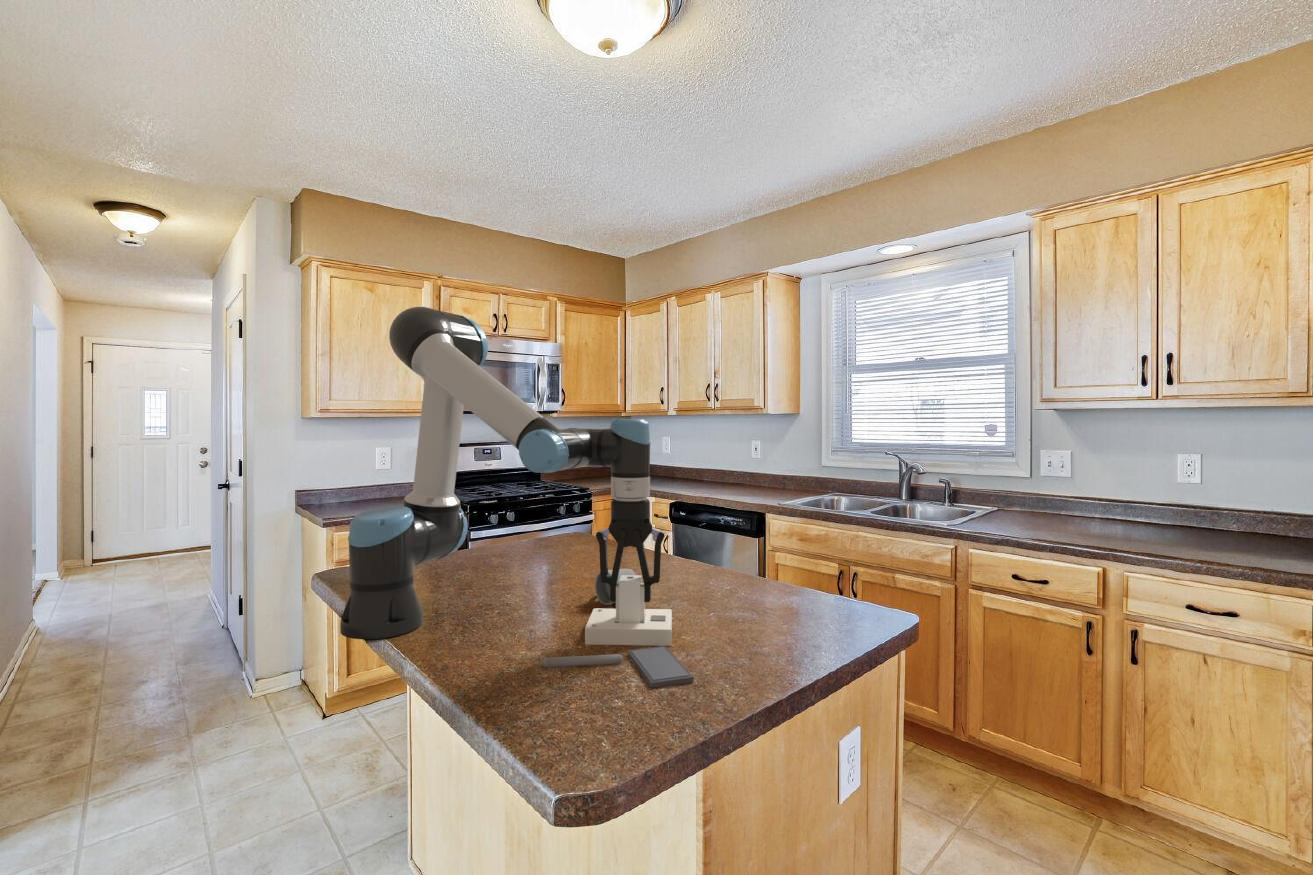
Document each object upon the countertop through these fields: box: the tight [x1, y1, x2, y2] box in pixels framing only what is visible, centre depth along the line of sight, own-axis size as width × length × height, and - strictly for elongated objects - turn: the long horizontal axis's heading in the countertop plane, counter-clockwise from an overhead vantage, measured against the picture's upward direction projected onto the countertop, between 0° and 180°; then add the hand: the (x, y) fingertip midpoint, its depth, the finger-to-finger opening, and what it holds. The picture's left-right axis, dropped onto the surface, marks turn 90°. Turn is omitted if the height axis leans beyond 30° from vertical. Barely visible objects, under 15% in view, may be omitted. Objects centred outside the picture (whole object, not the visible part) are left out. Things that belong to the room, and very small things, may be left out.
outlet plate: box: [584, 607, 673, 647], centre depth 119 cm, size 16×12×3 cm
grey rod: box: [542, 653, 624, 669], centre depth 104 cm, size 14×2×2 cm, turn 98°
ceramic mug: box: [594, 568, 638, 606], centre depth 141 cm, size 11×8×8 cm
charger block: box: [619, 574, 642, 623], centre depth 119 cm, size 4×4×9 cm
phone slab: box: [627, 646, 695, 689], centre depth 103 cm, size 7×14×1 cm, turn 18°
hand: (630, 617), depth 119 cm, fingers closed on charger block, 4 cm apart
